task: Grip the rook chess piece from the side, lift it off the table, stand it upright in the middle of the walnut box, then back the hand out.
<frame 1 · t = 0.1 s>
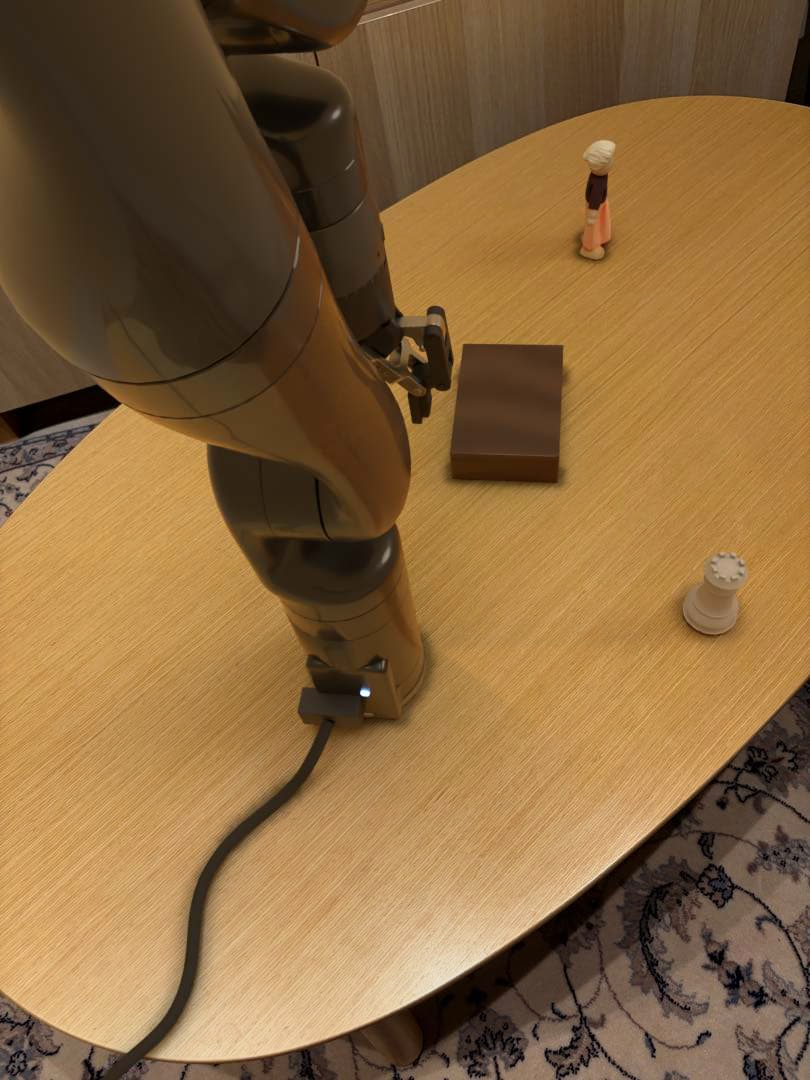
hand: (364, 413, 66), 17 cm above the table, tool pointing down, fingers open, 8 cm apart
rook chess piece: (708, 614, 73), on the table
walnut box: (508, 423, 86), on the table
grandmother figurine: (593, 244, 99), on the table
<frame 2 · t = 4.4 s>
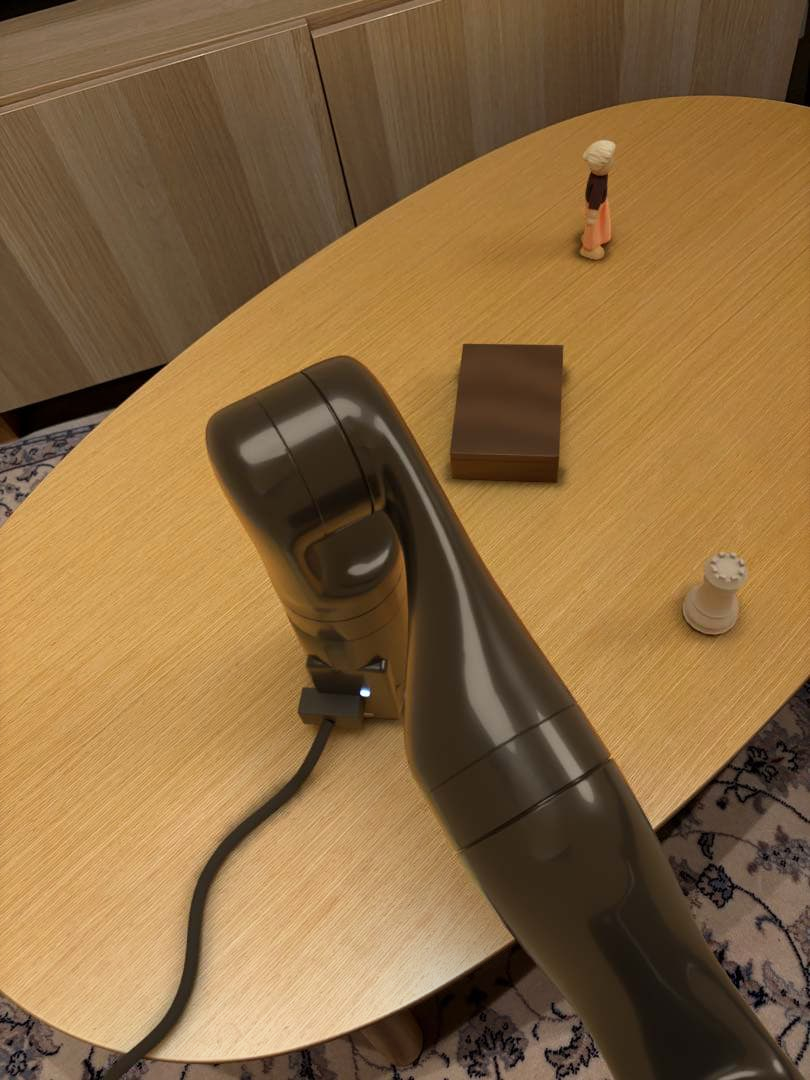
nothing on the table moved.
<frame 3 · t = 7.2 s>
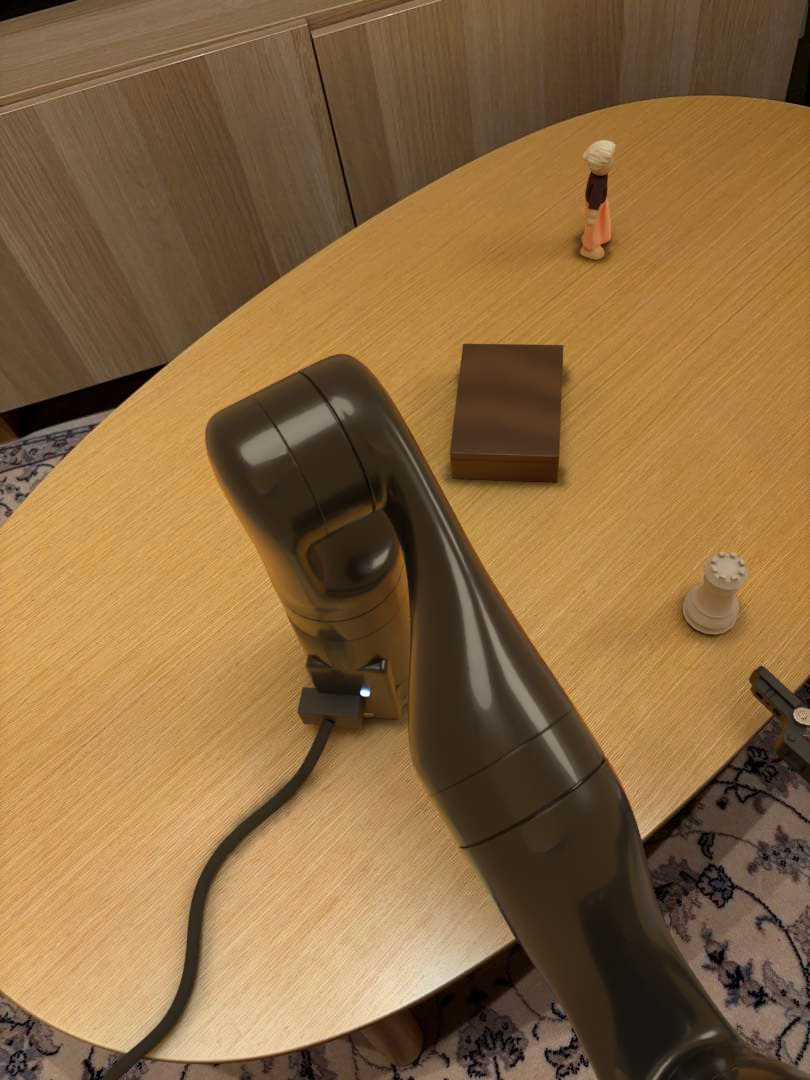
hand: (795, 639, 64), 6 cm above the table, tool horizontal, fingers open, 8 cm apart
nothing on the table moved.
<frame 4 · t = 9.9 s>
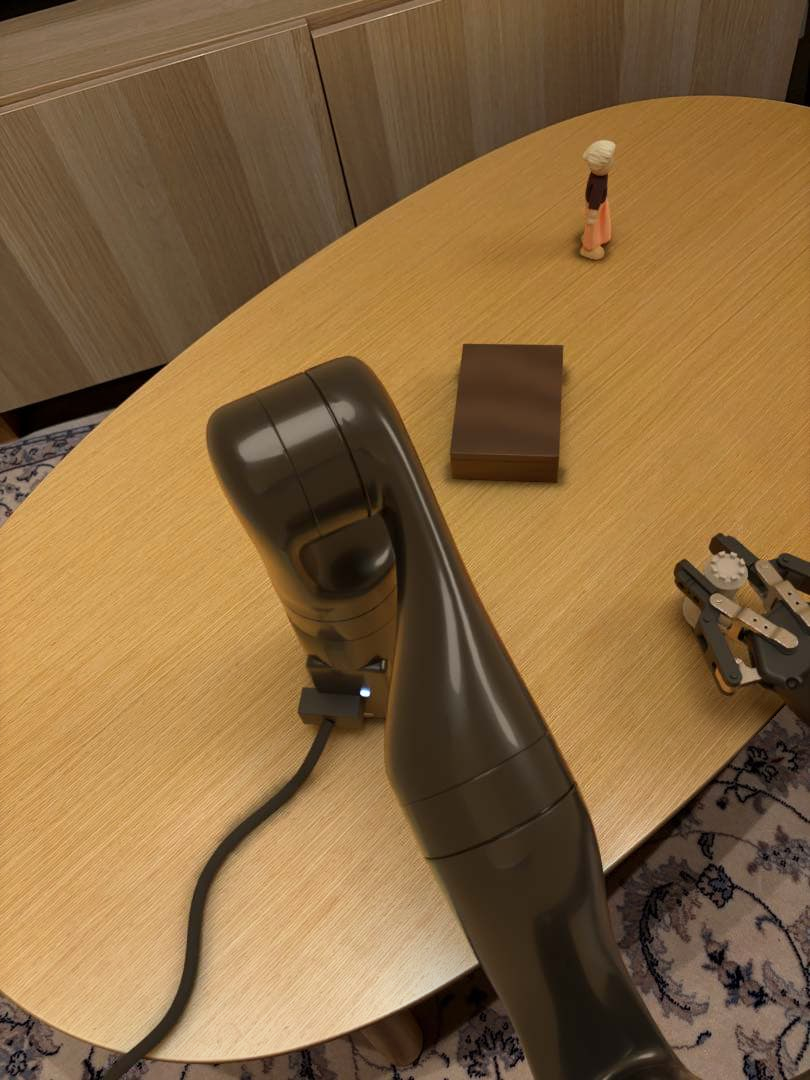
hand: (696, 553, 69), 6 cm above the table, tool horizontal, fingers closed on rook chess piece, 3 cm apart
rook chess piece: (708, 614, 73), on the table, touching gripper
everything else where it was.
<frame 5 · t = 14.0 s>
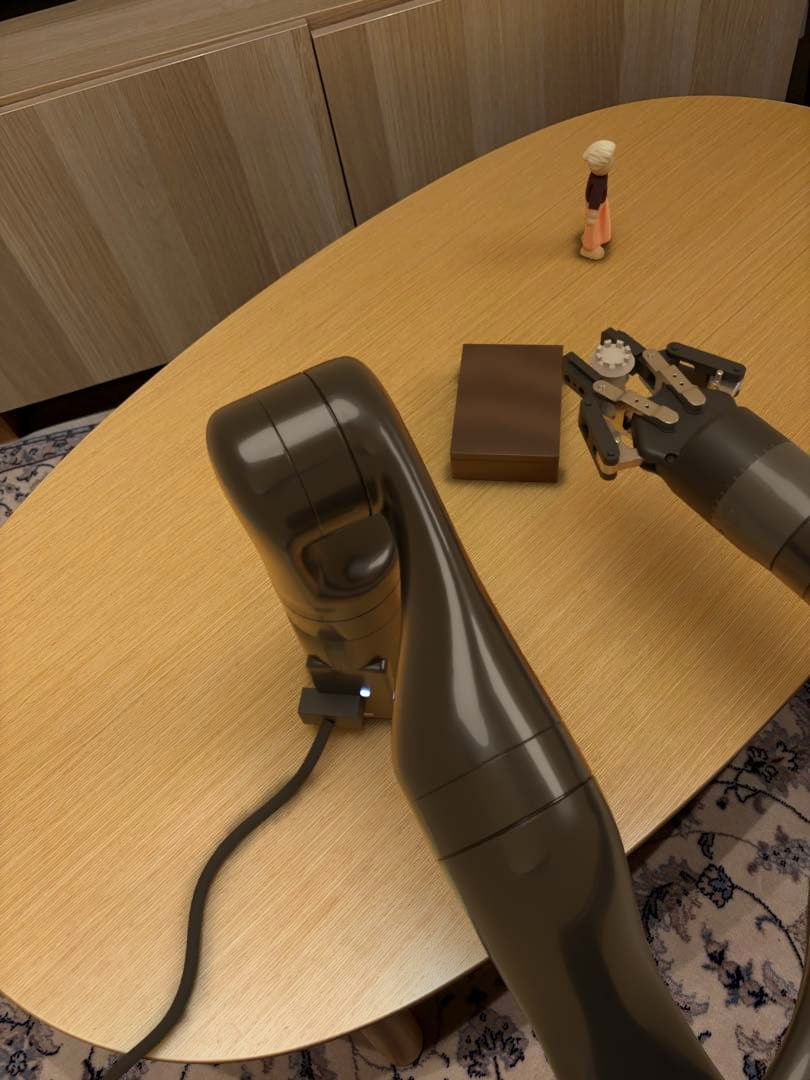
hand: (585, 349, 67), 18 cm above the table, tool horizontal, fingers closed on rook chess piece, 3 cm apart
rook chess piece: (604, 424, 70), point 12 cm above the table, touching gripper
everything else where it was.
when the fingers open (10 cm above the table, at t = 18.0 s): rook chess piece stays where it is, resting on walnut box.
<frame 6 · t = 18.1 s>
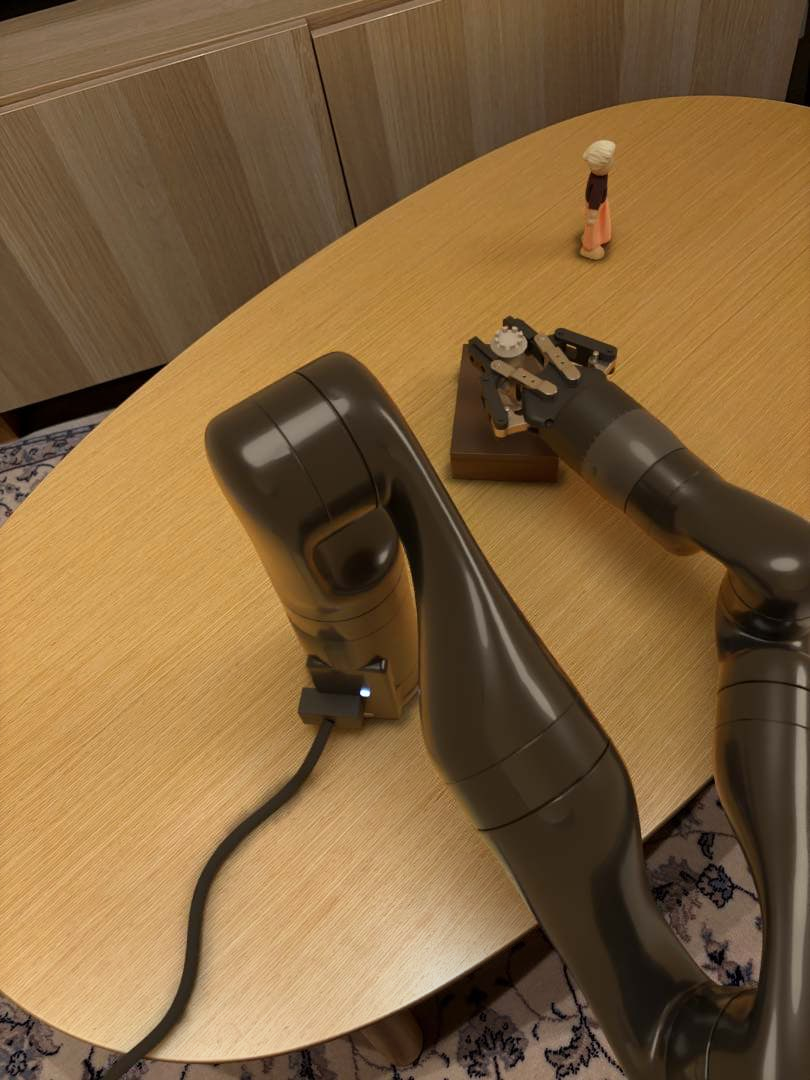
hand: (489, 334, 79), 10 cm above the table, tool horizontal, fingers open, 3 cm apart
rook chess piece: (509, 398, 83), point 4 cm above the table, touching walnut box
everything else where it was.
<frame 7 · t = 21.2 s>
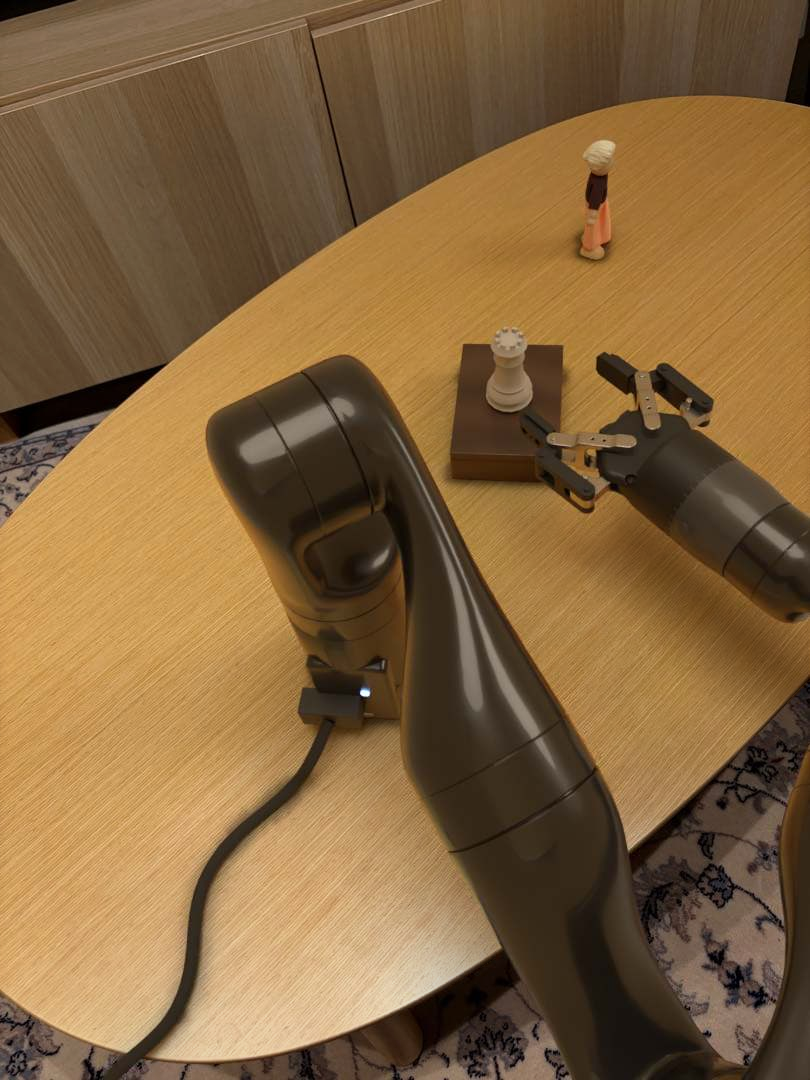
hand: (561, 387, 73), 12 cm above the table, tool horizontal, fingers open, 8 cm apart
nothing on the table moved.
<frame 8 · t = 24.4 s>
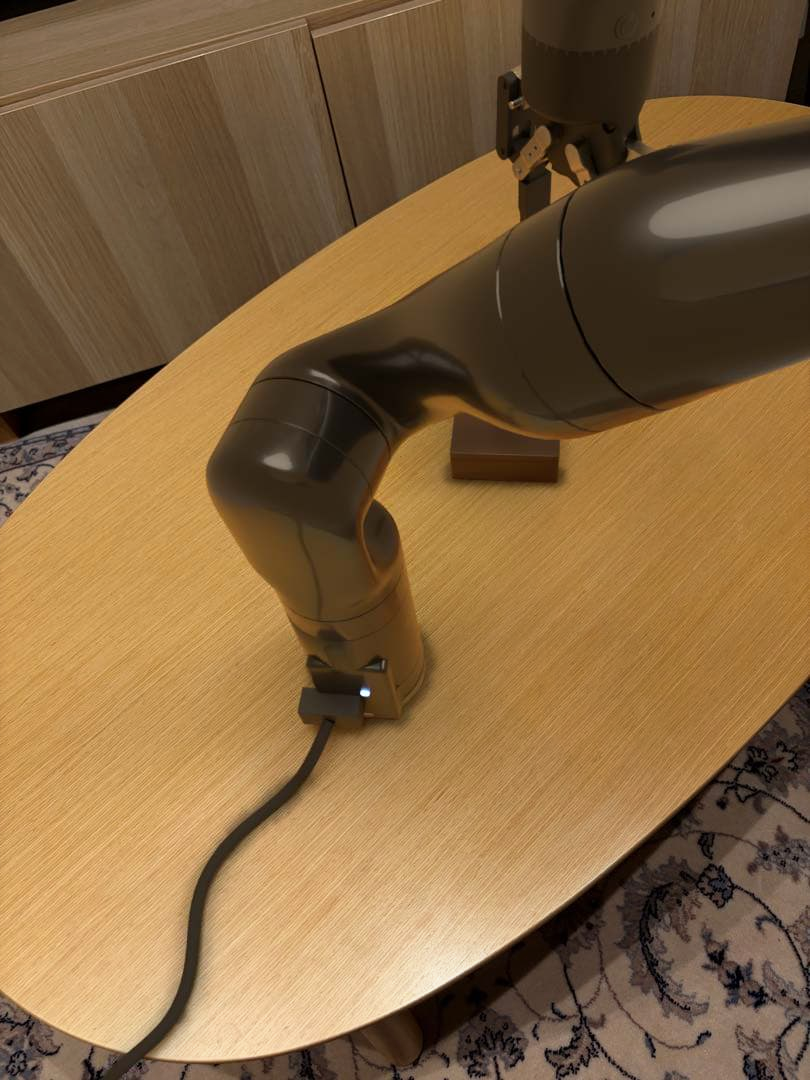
hand: (573, 250, 60), 26 cm above the table, tool pointing down, fingers open, 8 cm apart
nothing on the table moved.
at the end: rook chess piece inside the target area on the walnut box (0.1 cm from its centre), point 3.8 cm above the walnut box's base; rook chess piece tilted 0°; grandmother figurine moved 0.2 cm from its start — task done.
